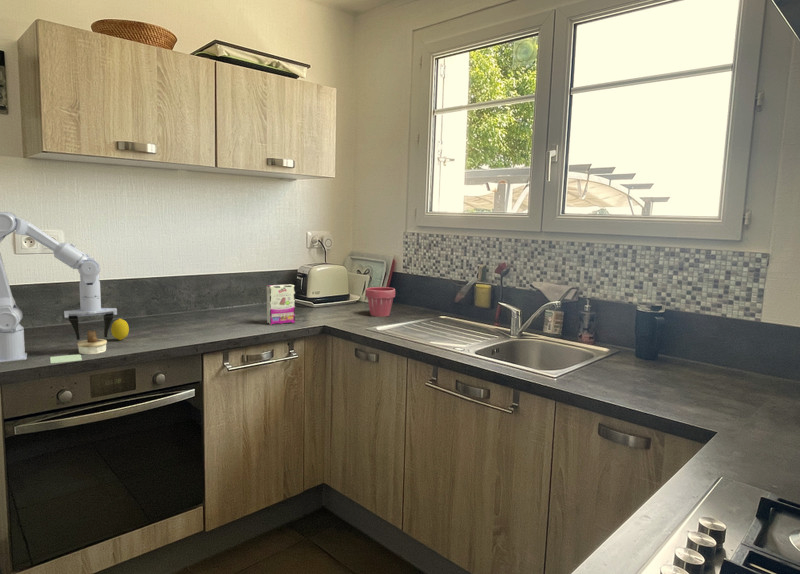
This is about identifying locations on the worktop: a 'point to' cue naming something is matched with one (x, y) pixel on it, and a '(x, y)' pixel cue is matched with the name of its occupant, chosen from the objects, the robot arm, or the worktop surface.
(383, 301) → the plant pot
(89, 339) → the lid
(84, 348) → the bowl
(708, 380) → the worktop surface
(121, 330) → the lemon
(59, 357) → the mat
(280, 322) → the candy bar box
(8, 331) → the robot arm
